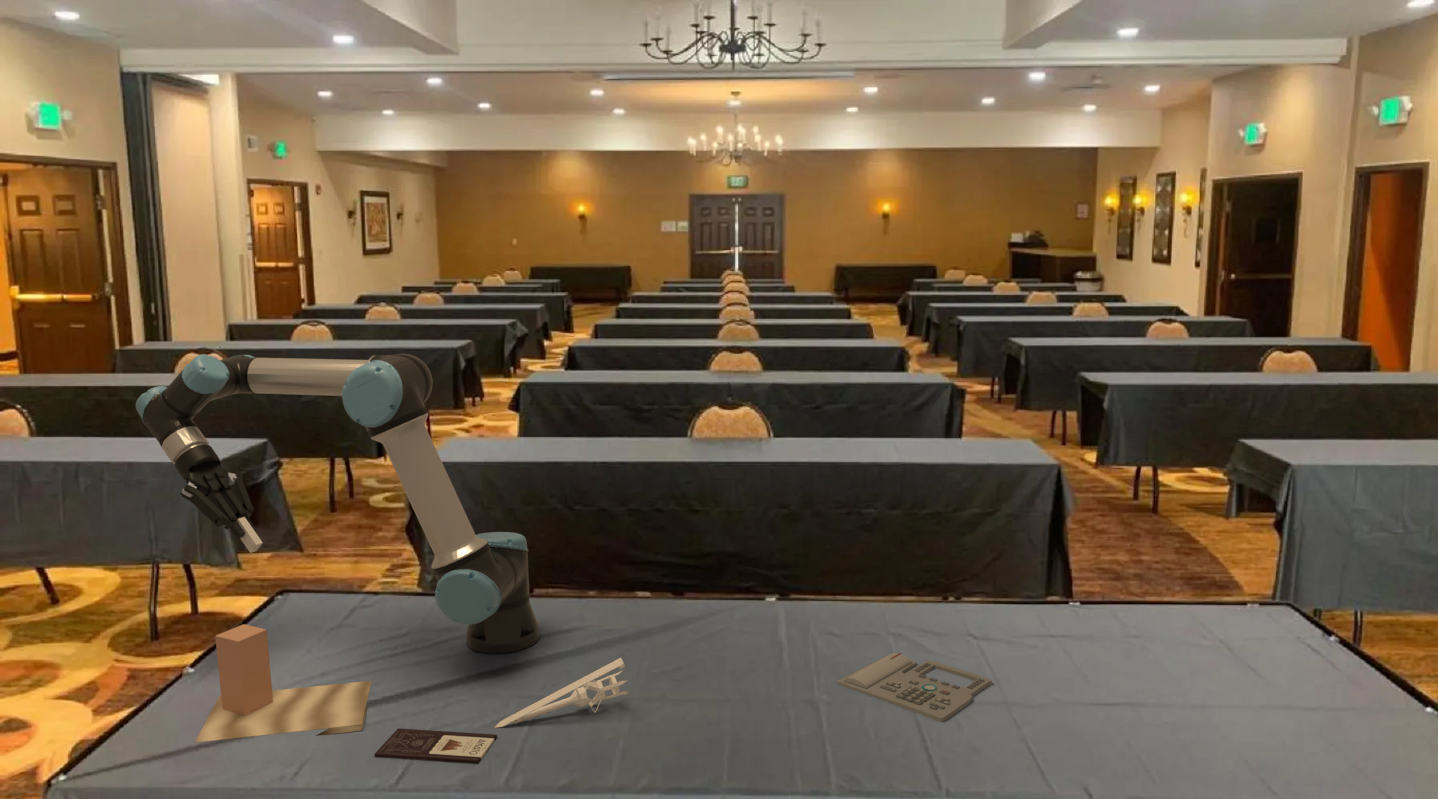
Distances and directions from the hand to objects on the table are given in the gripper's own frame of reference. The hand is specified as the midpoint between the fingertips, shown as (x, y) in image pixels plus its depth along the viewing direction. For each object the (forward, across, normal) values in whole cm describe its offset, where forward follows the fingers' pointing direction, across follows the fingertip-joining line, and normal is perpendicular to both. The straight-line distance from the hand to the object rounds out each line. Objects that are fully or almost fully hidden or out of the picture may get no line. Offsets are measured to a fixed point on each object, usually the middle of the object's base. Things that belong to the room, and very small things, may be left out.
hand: (256, 547), depth 206 cm
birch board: (+32, +11, -4) cm, 34 cm away
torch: (+63, -12, +27) cm, 70 cm away
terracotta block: (+25, +13, -9) cm, 30 cm away
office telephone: (+100, -52, +64) cm, 130 cm away
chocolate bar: (+55, +8, +18) cm, 58 cm away
